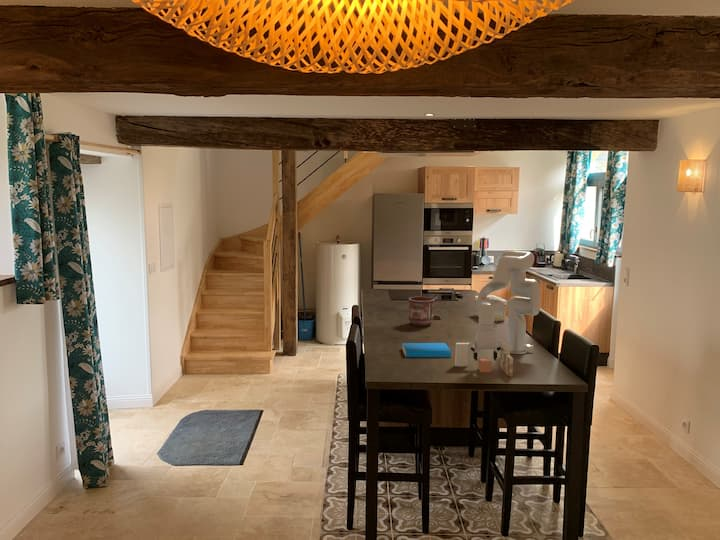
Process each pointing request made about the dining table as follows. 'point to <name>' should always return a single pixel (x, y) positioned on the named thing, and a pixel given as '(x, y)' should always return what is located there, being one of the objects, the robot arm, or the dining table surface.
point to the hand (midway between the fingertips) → (485, 359)
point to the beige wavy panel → (506, 362)
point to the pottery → (421, 311)
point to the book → (426, 350)
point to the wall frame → (462, 352)
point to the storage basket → (496, 317)
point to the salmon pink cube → (484, 364)
